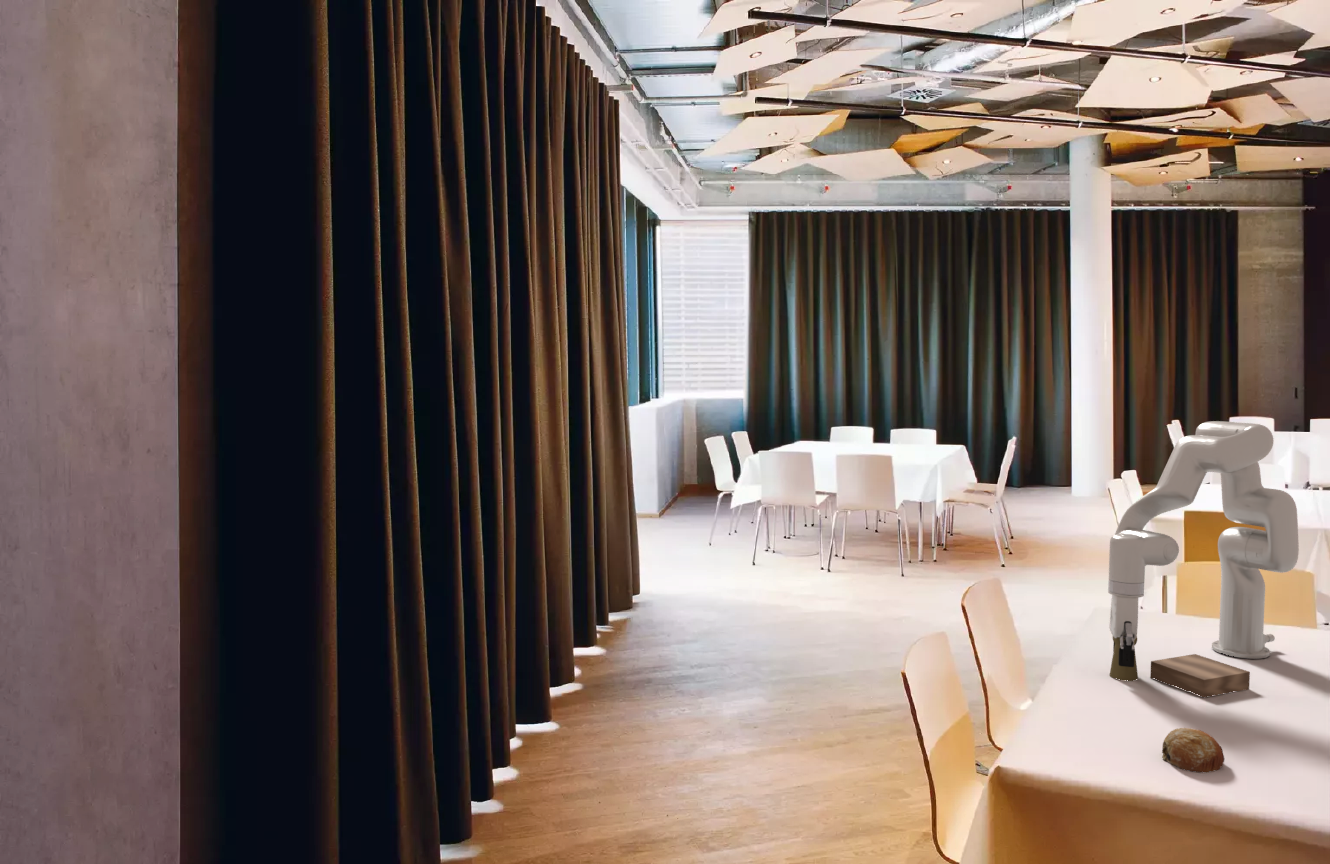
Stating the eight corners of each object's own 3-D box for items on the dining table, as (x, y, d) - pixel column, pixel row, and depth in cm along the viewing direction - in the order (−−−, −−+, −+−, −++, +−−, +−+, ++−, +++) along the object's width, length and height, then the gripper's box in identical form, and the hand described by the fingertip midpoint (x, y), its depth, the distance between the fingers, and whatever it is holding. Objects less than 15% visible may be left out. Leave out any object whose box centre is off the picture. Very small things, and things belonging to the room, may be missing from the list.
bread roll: (1159, 769, 182) (1143, 733, 181) (1206, 745, 182) (1190, 709, 181) (1192, 793, 172) (1175, 755, 171) (1241, 767, 172) (1225, 729, 171)
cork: (1132, 672, 226) (1133, 627, 225) (1142, 681, 220) (1143, 634, 219) (1105, 672, 226) (1106, 626, 226) (1114, 680, 220) (1116, 634, 220)
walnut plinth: (1194, 670, 227) (1195, 653, 227) (1249, 689, 214) (1249, 671, 214) (1150, 677, 222) (1150, 661, 222) (1203, 697, 209) (1204, 679, 209)
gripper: (1104, 578, 231) (1101, 647, 232) (1112, 595, 215) (1110, 669, 216) (1138, 580, 228) (1135, 651, 230) (1149, 597, 212) (1146, 673, 213)
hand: (1123, 659), depth 223 cm, fingers open, 9 cm apart
